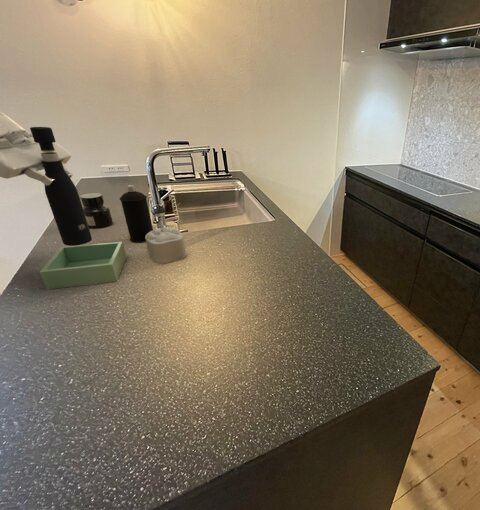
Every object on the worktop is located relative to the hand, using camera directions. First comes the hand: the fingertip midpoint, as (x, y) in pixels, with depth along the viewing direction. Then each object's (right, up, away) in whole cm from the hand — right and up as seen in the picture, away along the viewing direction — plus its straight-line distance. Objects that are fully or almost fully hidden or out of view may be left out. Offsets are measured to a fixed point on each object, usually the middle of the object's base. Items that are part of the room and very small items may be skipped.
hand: (60, 180), depth 79 cm
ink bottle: (-25, -7, +44) cm, 51 cm away
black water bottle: (-2, -16, +8) cm, 17 cm away
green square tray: (-3, -25, +13) cm, 28 cm away
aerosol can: (-2, -13, +36) cm, 39 cm away
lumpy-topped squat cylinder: (+13, -19, +27) cm, 35 cm away
